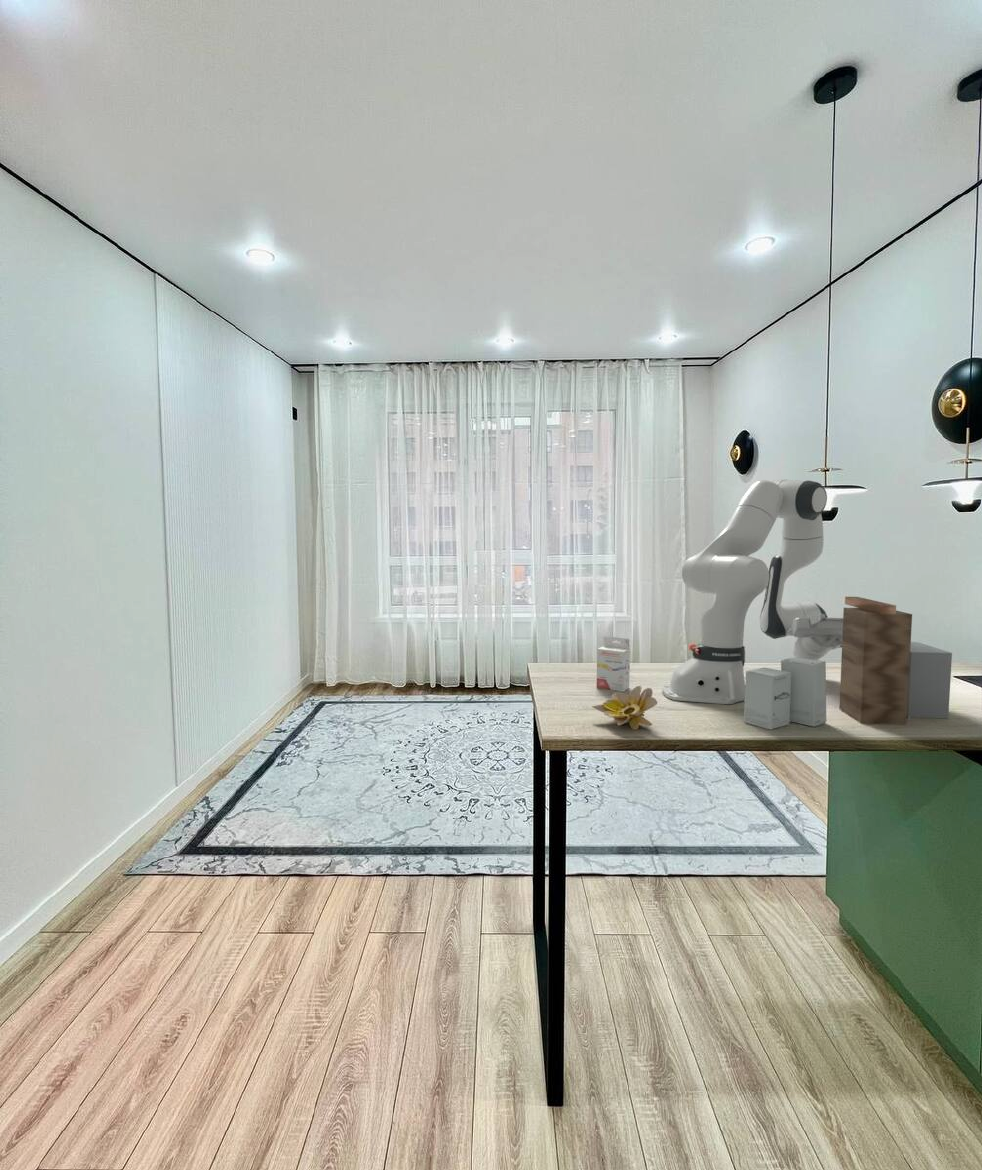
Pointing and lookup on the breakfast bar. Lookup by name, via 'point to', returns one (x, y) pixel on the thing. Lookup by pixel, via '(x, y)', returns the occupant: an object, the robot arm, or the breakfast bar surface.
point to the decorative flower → (629, 707)
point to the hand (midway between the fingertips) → (841, 616)
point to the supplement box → (767, 698)
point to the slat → (871, 605)
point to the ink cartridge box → (613, 664)
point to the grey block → (928, 682)
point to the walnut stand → (875, 666)
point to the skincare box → (807, 690)
